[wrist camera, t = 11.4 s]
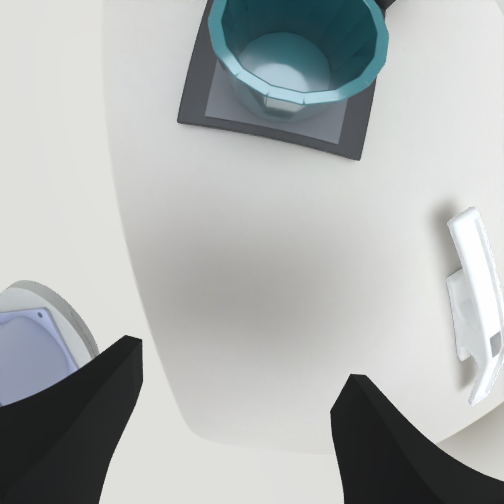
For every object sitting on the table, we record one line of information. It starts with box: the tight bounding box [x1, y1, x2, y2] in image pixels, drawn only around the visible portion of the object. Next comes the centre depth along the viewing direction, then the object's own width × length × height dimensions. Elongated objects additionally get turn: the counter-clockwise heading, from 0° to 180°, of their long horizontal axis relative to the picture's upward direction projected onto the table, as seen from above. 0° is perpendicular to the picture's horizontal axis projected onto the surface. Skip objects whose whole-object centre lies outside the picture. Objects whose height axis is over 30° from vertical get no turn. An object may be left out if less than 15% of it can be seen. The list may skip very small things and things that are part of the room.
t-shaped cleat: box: [446, 207, 504, 406], centre depth 17 cm, size 4×20×6 cm, turn 29°
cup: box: [208, 0, 389, 123], centre depth 10 cm, size 5×5×7 cm
